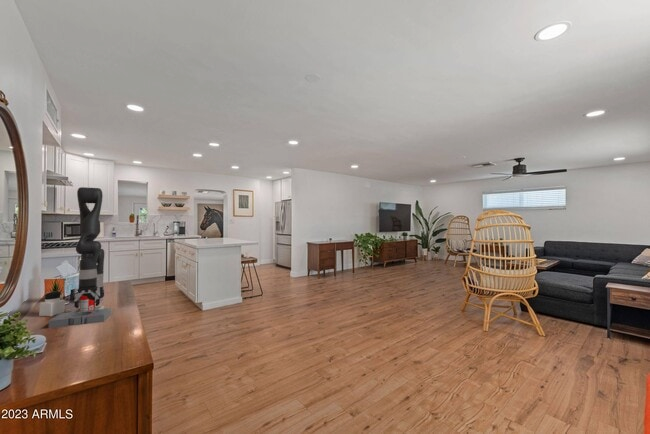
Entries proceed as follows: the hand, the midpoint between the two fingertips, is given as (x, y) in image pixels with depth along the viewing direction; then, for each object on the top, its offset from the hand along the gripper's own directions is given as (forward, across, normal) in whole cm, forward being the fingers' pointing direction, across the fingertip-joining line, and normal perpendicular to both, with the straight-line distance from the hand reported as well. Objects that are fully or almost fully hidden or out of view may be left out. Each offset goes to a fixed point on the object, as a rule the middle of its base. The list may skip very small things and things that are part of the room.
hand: (87, 306), depth 150 cm
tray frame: (+4, 0, 0) cm, 4 cm away
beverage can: (+4, 0, 0) cm, 4 cm away
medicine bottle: (+4, +17, -7) cm, 19 cm away
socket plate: (+4, -2, +13) cm, 13 cm away
